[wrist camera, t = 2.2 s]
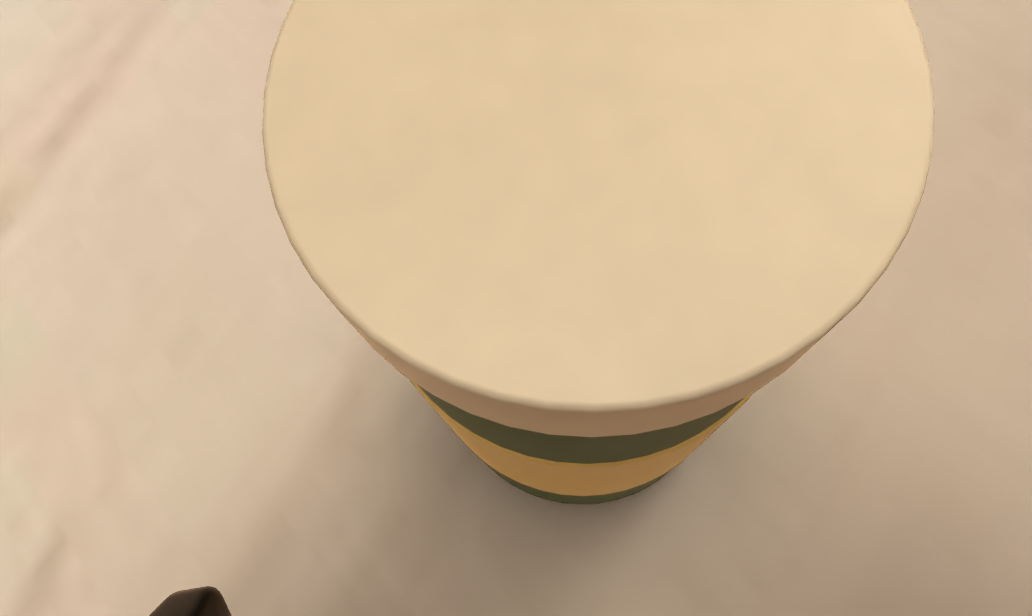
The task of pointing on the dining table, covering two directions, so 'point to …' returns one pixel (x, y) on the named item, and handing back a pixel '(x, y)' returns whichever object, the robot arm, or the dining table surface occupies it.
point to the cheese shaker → (595, 205)
